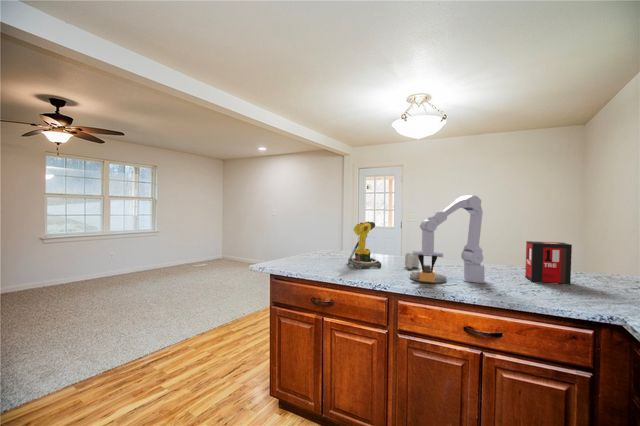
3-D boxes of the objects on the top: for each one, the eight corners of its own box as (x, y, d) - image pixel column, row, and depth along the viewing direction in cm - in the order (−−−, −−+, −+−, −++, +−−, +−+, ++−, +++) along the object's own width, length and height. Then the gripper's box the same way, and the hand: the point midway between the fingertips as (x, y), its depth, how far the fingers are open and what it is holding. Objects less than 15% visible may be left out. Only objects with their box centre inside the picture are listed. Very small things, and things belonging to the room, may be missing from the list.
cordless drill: (384, 268, 185) (385, 223, 185) (354, 269, 182) (355, 223, 181) (373, 262, 204) (374, 221, 203) (346, 263, 200) (346, 221, 199)
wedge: (430, 278, 153) (430, 264, 153) (430, 280, 149) (430, 266, 149) (424, 278, 154) (424, 264, 155) (423, 280, 150) (423, 265, 150)
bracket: (434, 277, 155) (435, 270, 155) (434, 282, 147) (434, 273, 147) (412, 275, 159) (412, 268, 159) (410, 279, 151) (411, 271, 151)
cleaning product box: (531, 282, 154) (532, 243, 153) (525, 278, 162) (526, 241, 162) (570, 285, 149) (571, 244, 148) (561, 280, 157) (563, 242, 157)
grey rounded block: (402, 268, 181) (403, 251, 183) (405, 269, 190) (406, 253, 192) (415, 270, 178) (416, 253, 179) (418, 270, 187) (419, 254, 188)
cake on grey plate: (446, 276, 164) (446, 265, 163) (446, 285, 147) (446, 272, 147) (411, 273, 171) (412, 263, 170) (408, 281, 154) (408, 269, 154)
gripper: (412, 243, 151) (411, 270, 151) (443, 245, 145) (442, 273, 146) (413, 242, 157) (413, 267, 158) (443, 243, 152) (442, 270, 152)
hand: (427, 270), depth 152 cm, fingers open, 4 cm apart
